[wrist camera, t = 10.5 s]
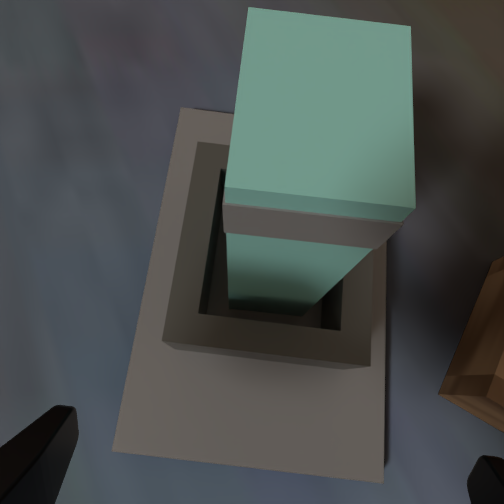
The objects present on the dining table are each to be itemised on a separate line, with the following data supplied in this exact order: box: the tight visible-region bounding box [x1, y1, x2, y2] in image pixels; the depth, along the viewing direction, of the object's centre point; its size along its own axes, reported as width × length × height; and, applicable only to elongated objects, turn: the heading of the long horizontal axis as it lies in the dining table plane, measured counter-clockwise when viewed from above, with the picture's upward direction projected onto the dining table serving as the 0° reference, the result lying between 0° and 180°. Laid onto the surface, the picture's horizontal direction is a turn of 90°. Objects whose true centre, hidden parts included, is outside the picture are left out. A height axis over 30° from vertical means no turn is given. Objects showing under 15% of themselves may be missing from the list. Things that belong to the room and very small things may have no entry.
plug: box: [222, 7, 416, 316], centre depth 14 cm, size 4×4×13 cm
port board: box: [112, 107, 387, 484], centre depth 19 cm, size 18×12×5 cm, turn 174°
